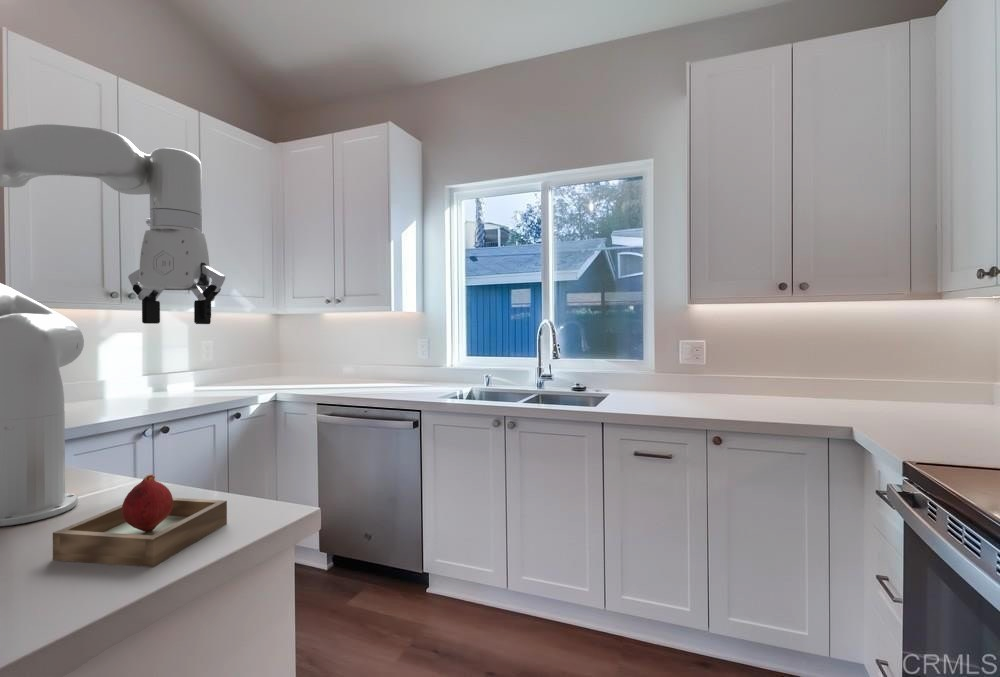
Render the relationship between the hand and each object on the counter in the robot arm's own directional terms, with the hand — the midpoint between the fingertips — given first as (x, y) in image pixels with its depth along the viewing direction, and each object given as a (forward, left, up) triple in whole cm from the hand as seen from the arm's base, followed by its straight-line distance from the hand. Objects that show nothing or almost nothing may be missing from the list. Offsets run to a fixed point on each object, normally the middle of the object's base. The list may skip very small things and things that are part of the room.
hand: (176, 323), depth 87 cm
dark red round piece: (+9, -16, -29) cm, 35 cm away
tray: (+9, -16, -30) cm, 36 cm away
